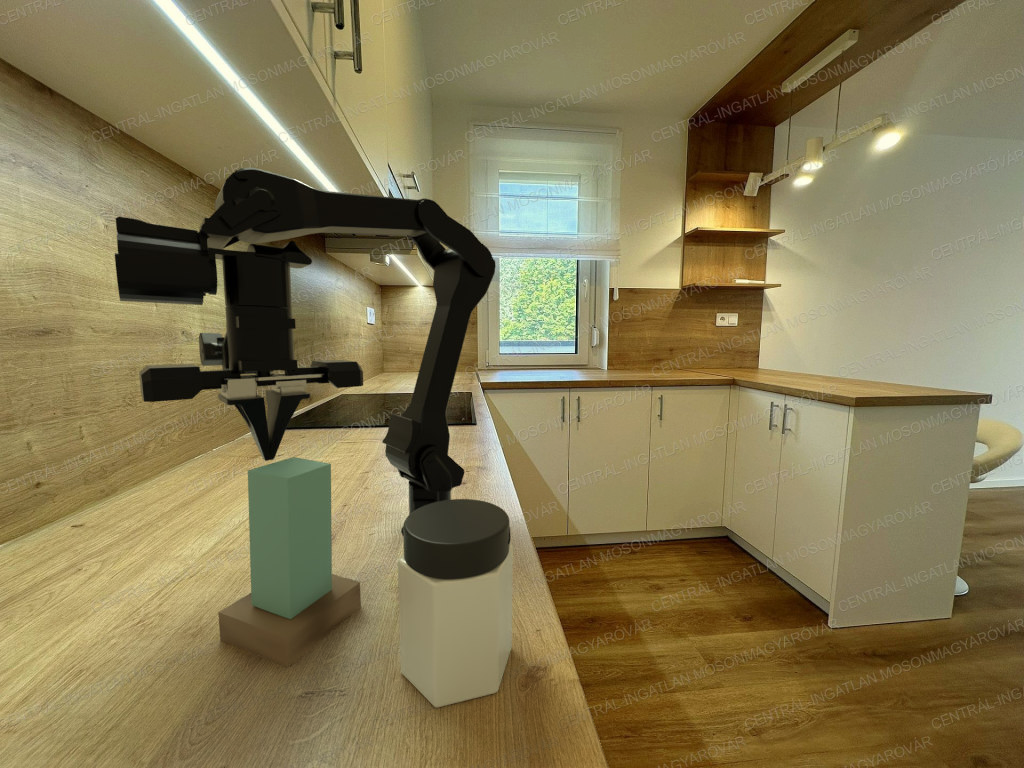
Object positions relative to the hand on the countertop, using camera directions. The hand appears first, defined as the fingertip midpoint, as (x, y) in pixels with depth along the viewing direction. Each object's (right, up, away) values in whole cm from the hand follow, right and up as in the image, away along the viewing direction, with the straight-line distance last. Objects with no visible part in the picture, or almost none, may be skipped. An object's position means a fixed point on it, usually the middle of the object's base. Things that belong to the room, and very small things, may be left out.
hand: (268, 459), depth 43 cm
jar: (+21, -15, -10) cm, 28 cm away
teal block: (+6, -11, -6) cm, 14 cm away
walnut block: (+6, -14, -6) cm, 16 cm away
